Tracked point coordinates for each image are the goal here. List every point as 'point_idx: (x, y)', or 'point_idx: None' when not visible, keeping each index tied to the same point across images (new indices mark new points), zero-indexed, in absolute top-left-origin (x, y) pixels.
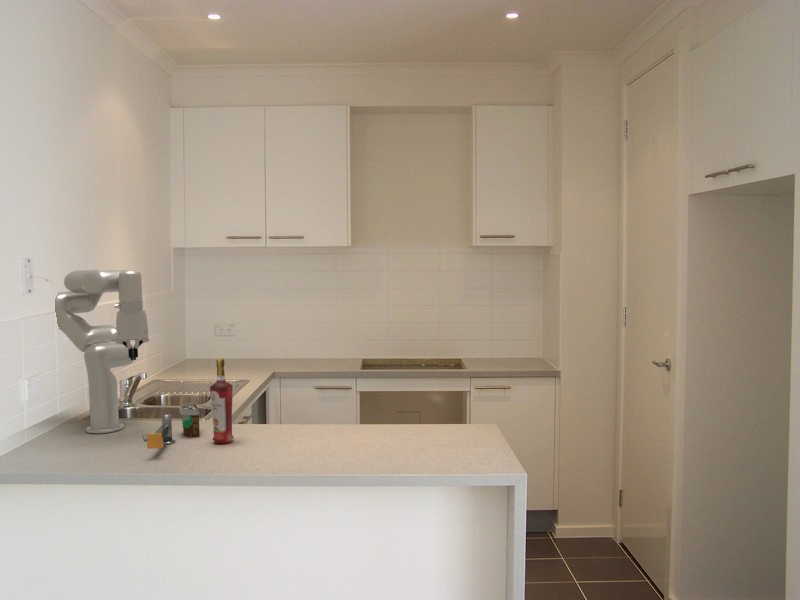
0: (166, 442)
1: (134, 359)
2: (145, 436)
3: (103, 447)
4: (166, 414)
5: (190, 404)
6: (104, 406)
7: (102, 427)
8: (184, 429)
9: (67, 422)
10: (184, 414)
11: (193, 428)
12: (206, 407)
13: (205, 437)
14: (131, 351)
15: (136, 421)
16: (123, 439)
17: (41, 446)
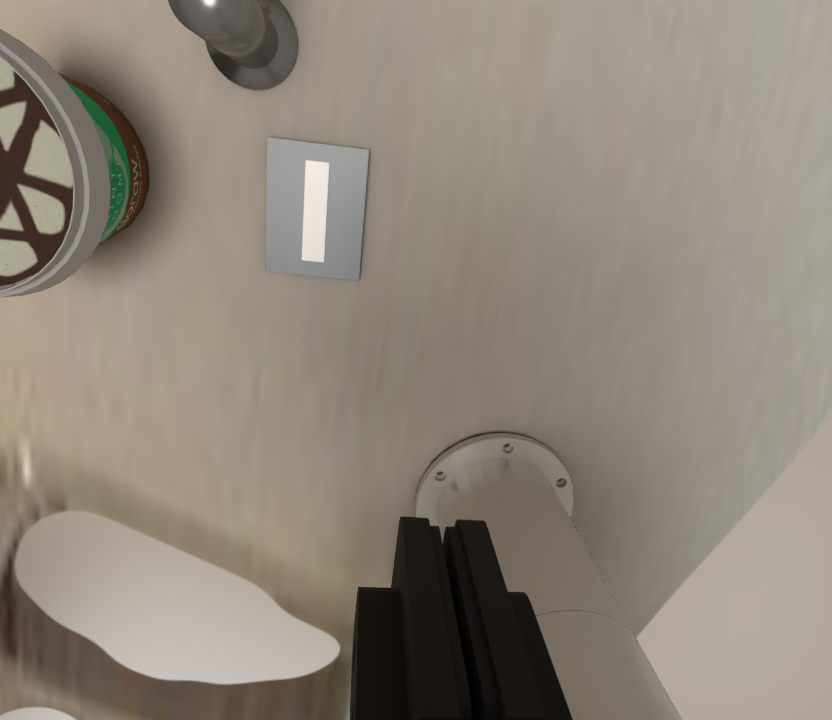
0: (260, 3)
1: (428, 528)
2: (354, 219)
3: (570, 161)
4: (203, 10)
5: (3, 287)
6: (536, 527)
7: (519, 463)
8: (128, 144)
9: None
10: (70, 91)
11: (63, 76)
12: (10, 681)
13: (19, 34)
14: (513, 656)
15: (346, 577)
16: (455, 272)
17: (779, 350)
